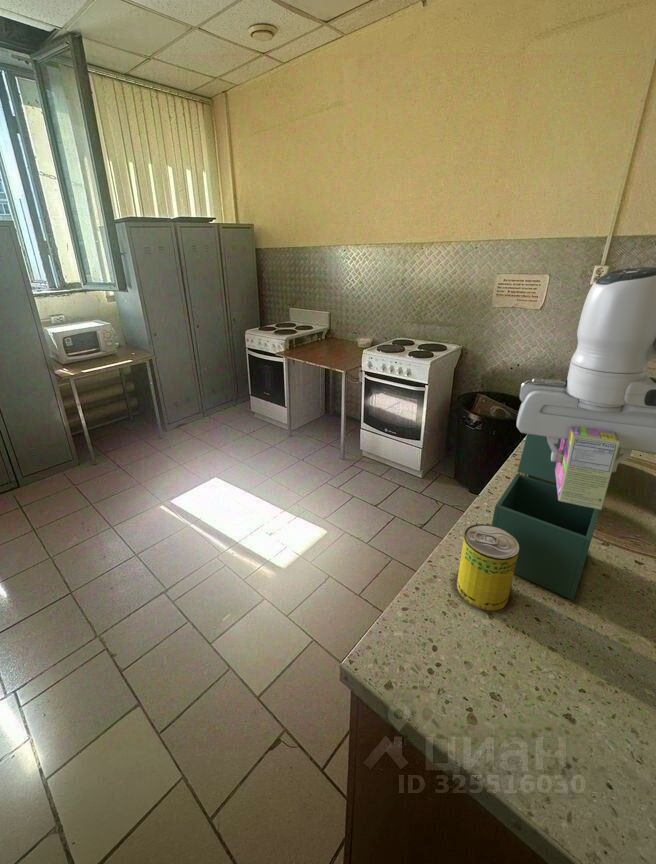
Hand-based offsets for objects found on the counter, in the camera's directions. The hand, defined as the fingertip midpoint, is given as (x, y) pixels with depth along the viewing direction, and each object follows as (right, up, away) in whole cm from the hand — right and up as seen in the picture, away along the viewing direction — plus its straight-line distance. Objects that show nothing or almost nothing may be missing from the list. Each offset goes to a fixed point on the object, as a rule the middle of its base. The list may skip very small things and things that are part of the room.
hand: (581, 465), depth 63 cm
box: (0, -4, +2) cm, 5 cm away
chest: (+5, -23, +20) cm, 31 cm away
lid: (+11, +1, +19) cm, 22 cm away
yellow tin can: (-10, -26, +13) cm, 31 cm away
